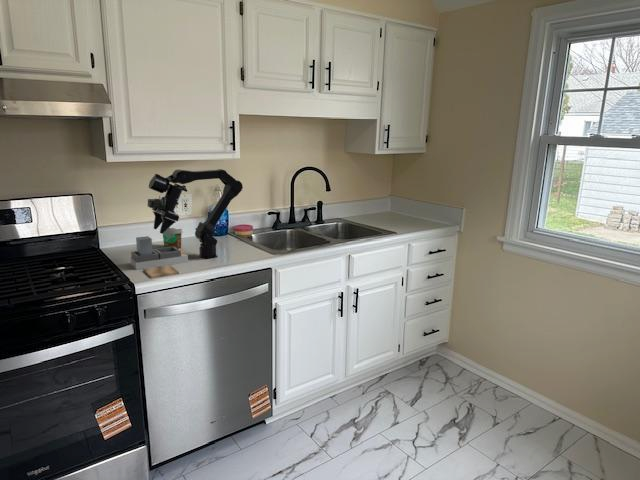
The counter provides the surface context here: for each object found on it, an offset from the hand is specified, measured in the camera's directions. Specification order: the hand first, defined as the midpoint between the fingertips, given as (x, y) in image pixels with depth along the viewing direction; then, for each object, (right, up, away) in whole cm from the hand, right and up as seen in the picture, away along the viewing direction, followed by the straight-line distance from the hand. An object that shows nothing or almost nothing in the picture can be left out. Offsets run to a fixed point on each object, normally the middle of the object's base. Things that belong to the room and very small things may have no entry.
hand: (157, 231), depth 198 cm
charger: (-5, -12, 0) cm, 13 cm away
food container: (-4, -8, +29) cm, 30 cm away
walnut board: (+4, -17, -8) cm, 19 cm away
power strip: (-1, -14, +4) cm, 14 cm away
